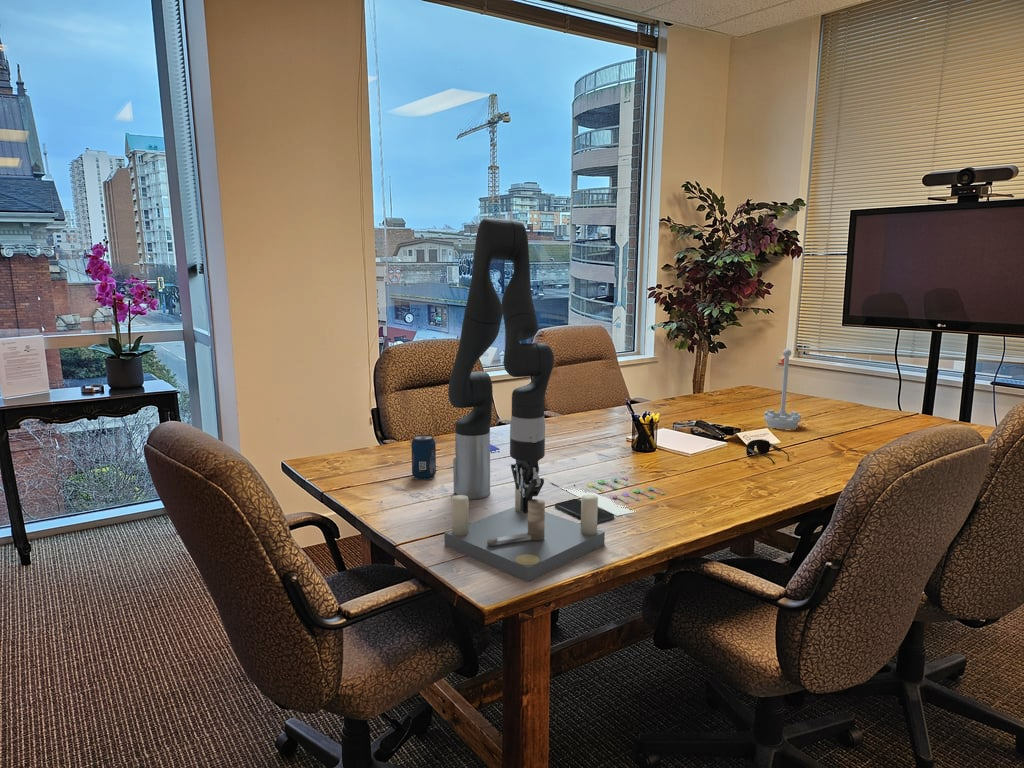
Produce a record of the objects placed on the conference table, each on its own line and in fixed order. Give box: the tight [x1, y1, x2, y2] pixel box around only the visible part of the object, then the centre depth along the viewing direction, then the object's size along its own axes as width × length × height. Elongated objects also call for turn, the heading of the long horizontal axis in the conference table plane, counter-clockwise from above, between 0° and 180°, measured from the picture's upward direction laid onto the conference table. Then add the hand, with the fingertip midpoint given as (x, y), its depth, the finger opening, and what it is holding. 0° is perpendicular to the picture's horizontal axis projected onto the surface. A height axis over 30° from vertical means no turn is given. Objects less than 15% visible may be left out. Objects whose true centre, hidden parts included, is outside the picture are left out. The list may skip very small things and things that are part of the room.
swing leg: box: [487, 498, 546, 546], centre depth 143 cm, size 13×4×8 cm, turn 111°
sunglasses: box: [745, 438, 790, 464], centre depth 217 cm, size 10×12×5 cm
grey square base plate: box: [443, 484, 606, 583], centre depth 148 cm, size 25×25×11 cm
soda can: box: [410, 434, 437, 481], centre depth 196 cm, size 7×7×12 cm
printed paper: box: [559, 477, 665, 517], centre depth 187 cm, size 30×30×2 cm
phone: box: [554, 498, 615, 525], centre depth 169 cm, size 8×1×15 cm
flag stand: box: [763, 348, 802, 430], centre depth 256 cm, size 13×13×30 cm
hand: (526, 511), depth 148 cm, fingers closed
